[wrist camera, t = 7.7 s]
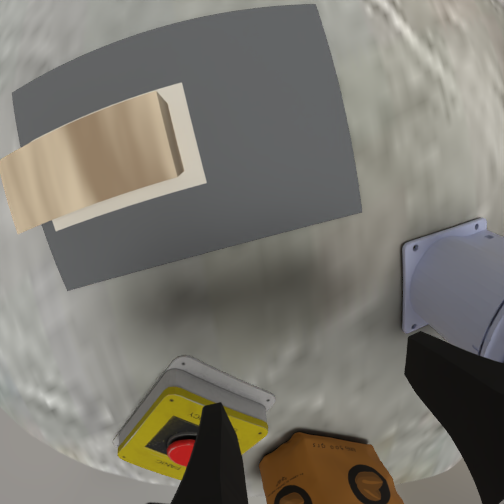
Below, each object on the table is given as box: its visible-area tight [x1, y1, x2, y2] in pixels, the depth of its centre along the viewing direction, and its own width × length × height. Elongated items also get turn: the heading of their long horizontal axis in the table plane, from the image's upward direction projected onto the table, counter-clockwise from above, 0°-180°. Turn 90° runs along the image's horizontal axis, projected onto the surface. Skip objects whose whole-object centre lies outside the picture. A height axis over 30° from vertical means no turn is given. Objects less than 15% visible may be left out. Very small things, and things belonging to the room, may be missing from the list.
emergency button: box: [113, 355, 275, 480], centre depth 22 cm, size 9×4×15 cm
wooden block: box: [0, 91, 184, 234], centre depth 14 cm, size 4×4×9 cm
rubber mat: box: [12, 4, 362, 291], centre depth 16 cm, size 20×14×1 cm
